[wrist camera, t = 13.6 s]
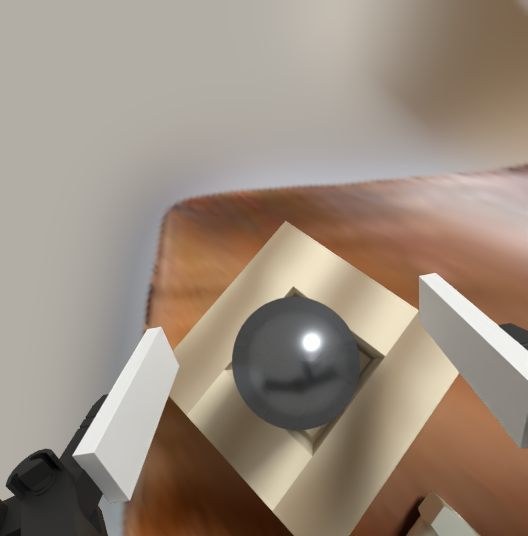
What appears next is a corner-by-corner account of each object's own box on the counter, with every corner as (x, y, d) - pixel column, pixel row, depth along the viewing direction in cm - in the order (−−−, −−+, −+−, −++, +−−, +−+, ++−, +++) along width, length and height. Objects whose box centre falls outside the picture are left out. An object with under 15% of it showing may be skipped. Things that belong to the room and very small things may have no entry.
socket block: (435, 354, 22) (475, 348, 17) (322, 515, 20) (325, 570, 15) (291, 251, 27) (285, 221, 21) (188, 374, 25) (151, 375, 19)
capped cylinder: (351, 362, 22) (387, 350, 11) (310, 416, 22) (304, 463, 10) (299, 320, 24) (284, 273, 13) (259, 369, 23) (207, 365, 12)
